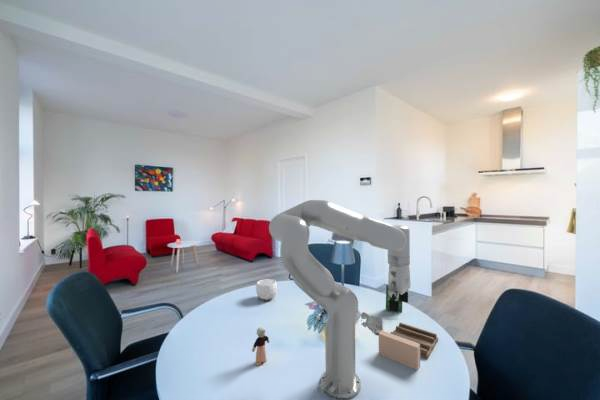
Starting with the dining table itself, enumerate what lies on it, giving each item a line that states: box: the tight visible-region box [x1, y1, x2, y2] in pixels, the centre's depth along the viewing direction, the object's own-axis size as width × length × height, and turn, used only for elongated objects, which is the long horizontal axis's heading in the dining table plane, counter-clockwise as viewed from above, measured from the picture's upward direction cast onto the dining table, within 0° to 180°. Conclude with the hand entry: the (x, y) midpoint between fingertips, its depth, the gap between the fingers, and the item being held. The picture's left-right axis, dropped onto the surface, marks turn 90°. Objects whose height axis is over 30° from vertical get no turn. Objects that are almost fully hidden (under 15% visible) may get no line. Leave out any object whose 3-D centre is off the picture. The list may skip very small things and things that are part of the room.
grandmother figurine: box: [251, 326, 271, 367], centre depth 94 cm, size 8×4×13 cm, turn 148°
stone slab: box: [361, 311, 384, 335], centre depth 120 cm, size 18×2×10 cm
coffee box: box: [385, 284, 403, 313], centre depth 133 cm, size 8×3×13 cm, turn 79°
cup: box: [255, 278, 278, 301], centre depth 150 cm, size 12×12×10 cm
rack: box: [390, 322, 439, 360], centre depth 105 cm, size 16×16×2 cm
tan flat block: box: [378, 330, 421, 371], centre depth 94 cm, size 3×14×8 cm, turn 49°
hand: (398, 306), depth 93 cm, fingers open, 9 cm apart
